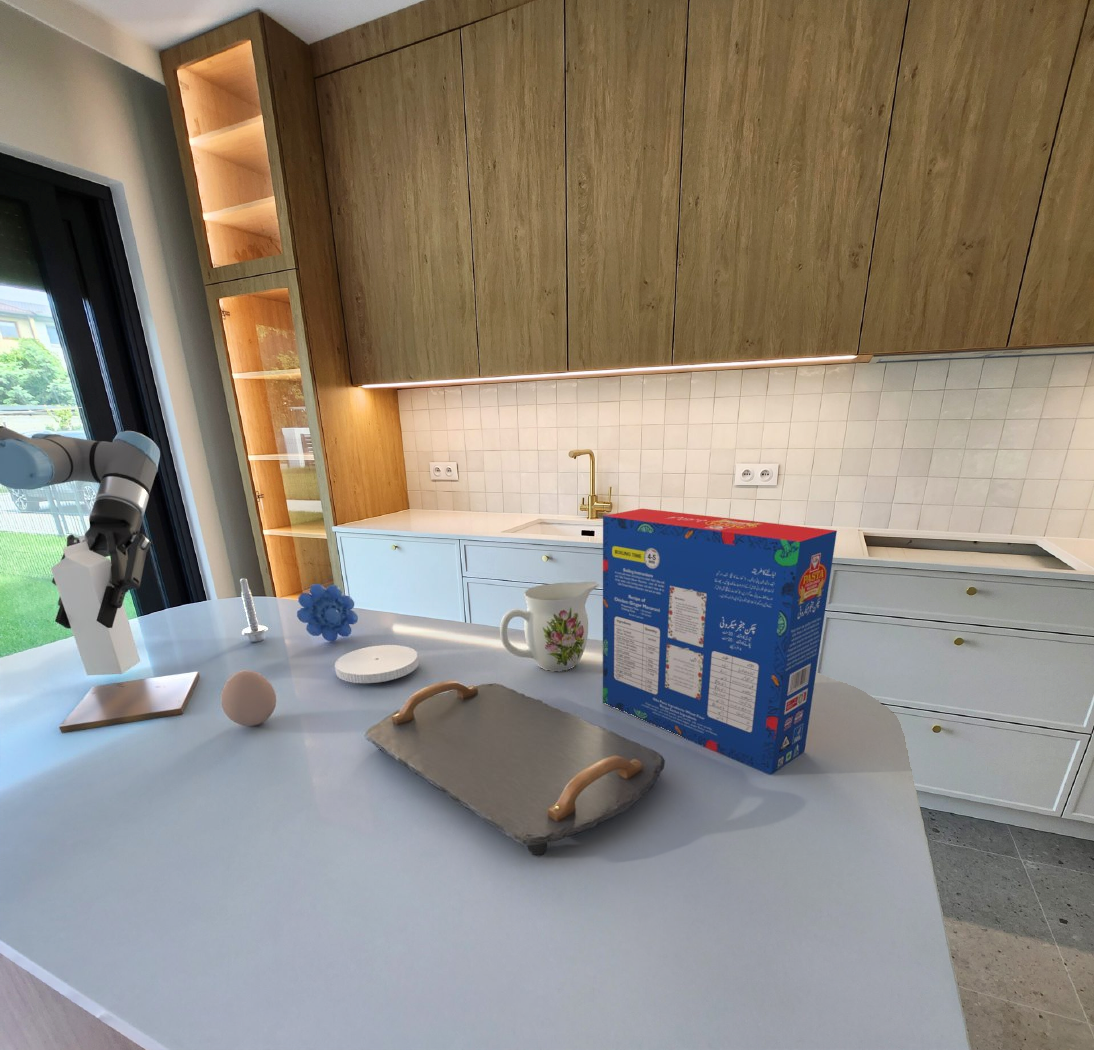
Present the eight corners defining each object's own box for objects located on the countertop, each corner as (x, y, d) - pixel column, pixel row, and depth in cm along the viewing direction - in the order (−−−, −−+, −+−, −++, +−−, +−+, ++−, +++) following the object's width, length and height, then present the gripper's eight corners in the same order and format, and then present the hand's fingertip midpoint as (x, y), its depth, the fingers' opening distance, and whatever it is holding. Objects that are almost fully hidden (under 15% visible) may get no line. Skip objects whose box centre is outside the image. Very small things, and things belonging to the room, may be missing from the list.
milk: (141, 661, 113) (105, 540, 105) (121, 674, 108) (82, 547, 99) (106, 663, 113) (68, 541, 105) (85, 675, 107) (43, 548, 99)
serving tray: (352, 744, 85) (345, 703, 83) (485, 692, 99) (482, 656, 97) (546, 883, 59) (544, 829, 56) (689, 785, 73) (692, 738, 71)
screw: (271, 635, 130) (267, 642, 125) (246, 637, 129) (241, 645, 124) (258, 573, 124) (253, 579, 120) (232, 575, 124) (226, 581, 119)
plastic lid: (348, 695, 100) (346, 681, 99) (328, 668, 111) (326, 655, 110) (430, 676, 106) (429, 662, 105) (404, 652, 117) (402, 639, 116)
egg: (285, 726, 91) (273, 673, 87) (231, 740, 87) (217, 685, 84) (276, 708, 96) (264, 658, 93) (225, 721, 93) (211, 669, 90)
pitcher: (494, 662, 111) (488, 587, 106) (586, 647, 117) (585, 575, 111) (512, 685, 101) (507, 604, 96) (612, 667, 107) (612, 590, 102)
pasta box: (804, 751, 79) (836, 530, 68) (770, 775, 75) (799, 541, 64) (637, 688, 99) (642, 508, 88) (602, 703, 94) (602, 515, 83)
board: (61, 732, 91) (58, 726, 91) (95, 691, 105) (93, 685, 105) (182, 714, 96) (180, 708, 95) (199, 676, 110) (198, 671, 109)
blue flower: (310, 653, 118) (299, 592, 114) (299, 644, 123) (287, 585, 119) (368, 639, 125) (359, 581, 120) (355, 631, 130) (346, 575, 125)
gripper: (183, 521, 115) (154, 633, 107) (82, 523, 116) (44, 635, 107) (158, 495, 108) (125, 613, 100) (50, 497, 109) (8, 615, 100)
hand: (83, 624), depth 103 cm, fingers closed on milk, 6 cm apart
